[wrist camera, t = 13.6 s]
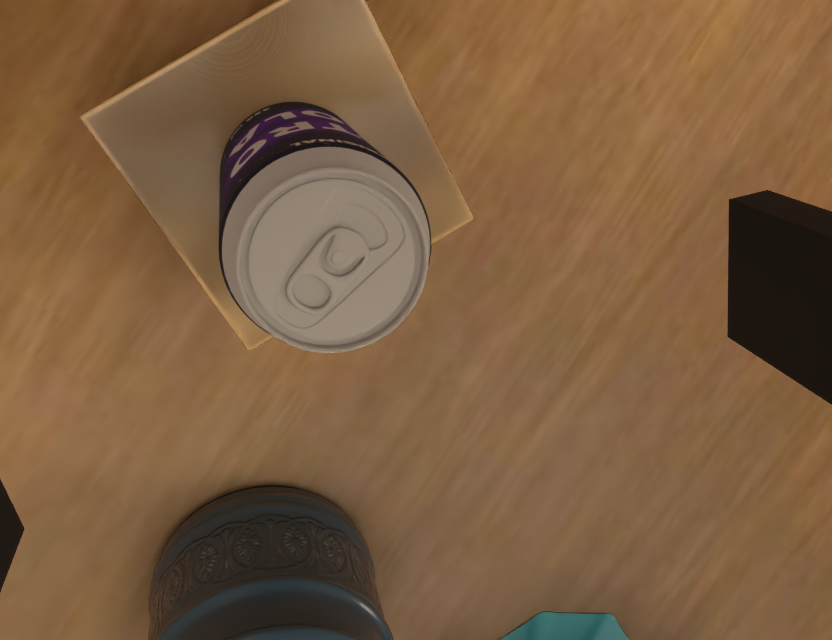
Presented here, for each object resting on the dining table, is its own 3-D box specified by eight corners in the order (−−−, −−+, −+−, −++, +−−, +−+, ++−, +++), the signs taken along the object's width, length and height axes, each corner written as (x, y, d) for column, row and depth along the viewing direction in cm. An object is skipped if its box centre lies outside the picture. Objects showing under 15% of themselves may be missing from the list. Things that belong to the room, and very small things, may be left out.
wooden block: (109, 95, 34) (78, 116, 27) (320, -28, 34) (346, -39, 27) (243, 289, 39) (248, 352, 32) (428, 181, 39) (474, 219, 32)
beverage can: (393, 161, 30) (487, 242, 20) (307, 269, 31) (352, 404, 20) (278, 67, 28) (314, 100, 17) (189, 186, 29) (170, 289, 18)
